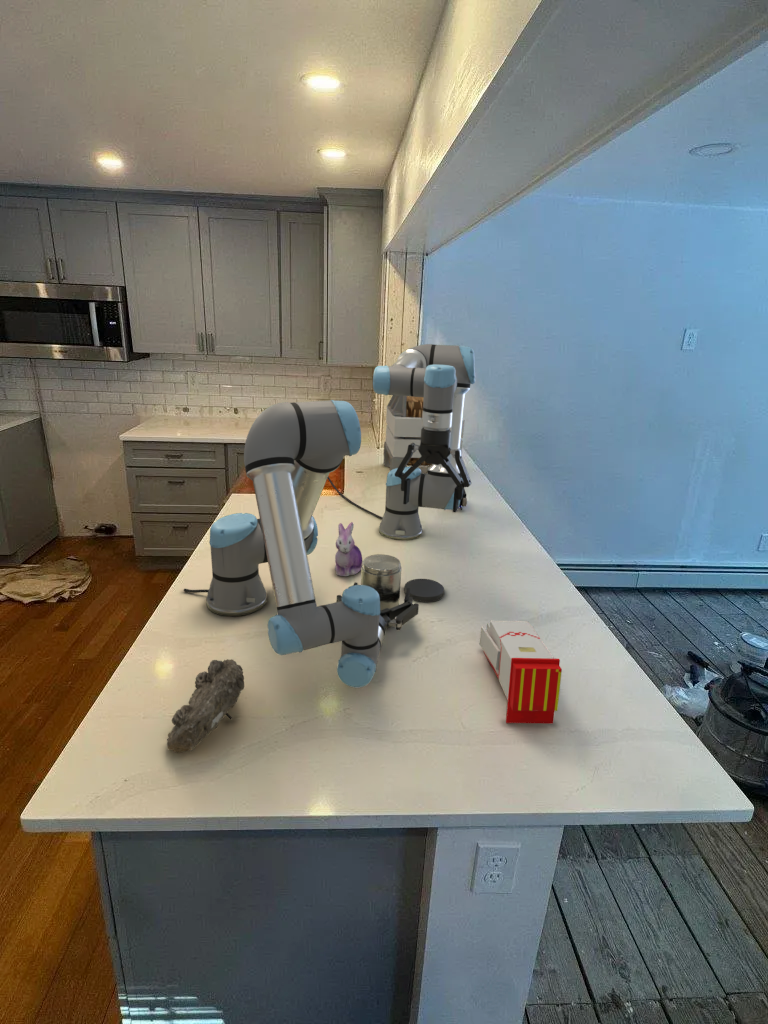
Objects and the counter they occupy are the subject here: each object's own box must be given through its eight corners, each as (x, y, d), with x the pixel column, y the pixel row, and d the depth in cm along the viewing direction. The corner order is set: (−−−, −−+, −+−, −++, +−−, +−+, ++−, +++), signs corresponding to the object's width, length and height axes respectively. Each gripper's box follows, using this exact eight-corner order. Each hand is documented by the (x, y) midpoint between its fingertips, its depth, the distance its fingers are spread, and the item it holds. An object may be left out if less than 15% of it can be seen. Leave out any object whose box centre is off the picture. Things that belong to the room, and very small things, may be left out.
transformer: (382, 463, 289) (386, 382, 275) (445, 464, 293) (451, 384, 279) (390, 482, 257) (394, 392, 243) (460, 483, 261) (468, 394, 247)
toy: (526, 605, 135) (570, 665, 105) (521, 658, 137) (563, 730, 108) (475, 604, 134) (506, 664, 105) (472, 657, 137) (500, 729, 108)
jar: (379, 605, 152) (381, 550, 146) (406, 619, 145) (410, 562, 140) (351, 617, 145) (353, 560, 139) (379, 633, 138) (381, 574, 133)
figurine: (340, 580, 164) (341, 532, 159) (327, 566, 172) (327, 519, 167) (369, 574, 168) (371, 527, 163) (355, 561, 177) (356, 515, 171)
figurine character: (467, 515, 225) (461, 499, 238) (469, 498, 221) (463, 482, 235) (450, 514, 224) (445, 498, 238) (452, 497, 221) (447, 482, 234)
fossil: (192, 660, 117) (244, 628, 112) (224, 691, 120) (276, 661, 115) (142, 746, 98) (202, 712, 93) (182, 779, 101) (242, 748, 96)
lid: (404, 601, 154) (404, 596, 154) (403, 582, 165) (404, 577, 164) (445, 603, 154) (445, 598, 153) (442, 584, 165) (442, 579, 164)
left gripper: (313, 641, 129) (334, 597, 148) (422, 655, 126) (429, 608, 145) (313, 612, 126) (334, 571, 146) (424, 625, 123) (431, 581, 143)
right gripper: (385, 425, 144) (381, 503, 152) (481, 436, 136) (473, 518, 144) (394, 420, 151) (391, 495, 158) (487, 430, 143) (479, 509, 150)
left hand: (381, 589), depth 146 cm, fingers open, 13 cm apart
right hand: (430, 506), depth 151 cm, fingers open, 13 cm apart
